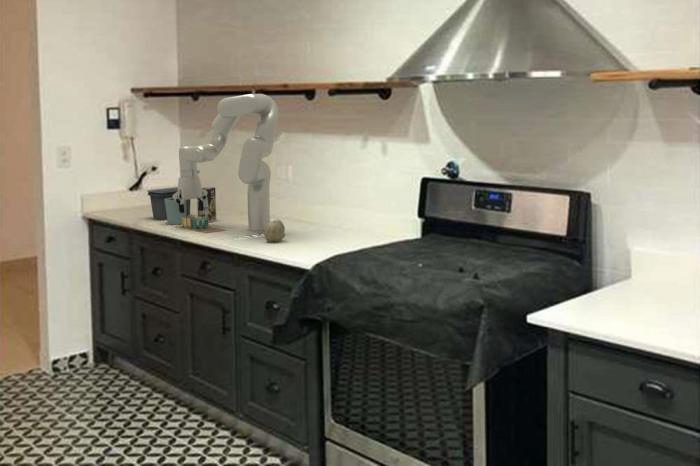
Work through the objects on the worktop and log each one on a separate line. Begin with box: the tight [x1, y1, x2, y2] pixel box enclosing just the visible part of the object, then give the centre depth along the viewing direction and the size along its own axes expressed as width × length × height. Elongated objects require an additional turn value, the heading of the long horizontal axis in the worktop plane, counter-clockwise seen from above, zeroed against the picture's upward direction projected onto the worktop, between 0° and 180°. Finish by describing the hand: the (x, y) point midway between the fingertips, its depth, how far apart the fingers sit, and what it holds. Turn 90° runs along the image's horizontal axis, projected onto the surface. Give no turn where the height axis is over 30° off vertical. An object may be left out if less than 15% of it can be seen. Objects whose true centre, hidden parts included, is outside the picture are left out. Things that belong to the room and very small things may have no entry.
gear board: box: [174, 214, 227, 234], centre depth 362 cm, size 26×11×6 cm, turn 41°
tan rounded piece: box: [261, 219, 286, 243], centre depth 336 cm, size 9×8×10 cm
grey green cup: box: [165, 197, 186, 226], centre depth 386 cm, size 10×10×12 cm
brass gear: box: [181, 215, 198, 227], centre depth 369 cm, size 8×8×4 cm
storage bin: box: [146, 186, 192, 221], centre depth 406 cm, size 21×16×14 cm
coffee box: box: [196, 186, 217, 224], centre depth 392 cm, size 9×6×16 cm
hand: (191, 211), depth 368 cm, fingers open, 9 cm apart
